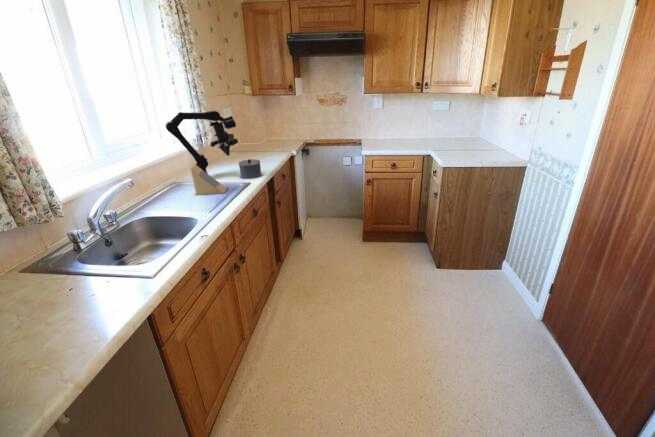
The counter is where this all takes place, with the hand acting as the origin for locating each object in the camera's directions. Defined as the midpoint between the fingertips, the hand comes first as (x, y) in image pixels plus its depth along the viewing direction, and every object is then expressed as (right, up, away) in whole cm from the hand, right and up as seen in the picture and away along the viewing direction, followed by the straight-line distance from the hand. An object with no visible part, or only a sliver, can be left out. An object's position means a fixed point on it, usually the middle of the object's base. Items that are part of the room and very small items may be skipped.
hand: (228, 155), depth 206 cm
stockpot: (+14, -13, +1) cm, 19 cm away
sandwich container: (-1, -25, -25) cm, 36 cm away
